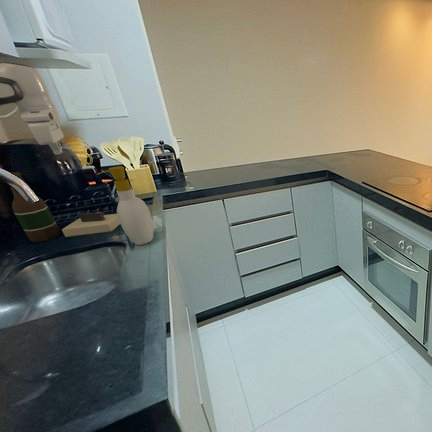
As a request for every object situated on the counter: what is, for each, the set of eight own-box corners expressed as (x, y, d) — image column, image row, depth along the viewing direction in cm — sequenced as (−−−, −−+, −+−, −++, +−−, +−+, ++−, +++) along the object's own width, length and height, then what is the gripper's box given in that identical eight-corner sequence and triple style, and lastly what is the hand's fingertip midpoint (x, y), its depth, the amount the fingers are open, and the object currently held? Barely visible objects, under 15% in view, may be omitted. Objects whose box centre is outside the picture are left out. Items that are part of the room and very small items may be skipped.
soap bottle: (128, 236, 106) (99, 165, 96) (159, 229, 111) (133, 161, 100) (123, 252, 95) (89, 174, 85) (157, 245, 100) (129, 169, 89)
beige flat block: (65, 237, 106) (61, 229, 105) (83, 224, 116) (79, 217, 115) (111, 231, 110) (108, 223, 109) (125, 219, 120) (122, 212, 119)
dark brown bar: (82, 222, 111) (78, 214, 109) (84, 220, 112) (81, 212, 111) (102, 220, 112) (99, 212, 110) (105, 219, 113) (102, 211, 112)
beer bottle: (28, 239, 105) (-9, 174, 96) (58, 230, 111) (26, 168, 102) (33, 244, 101) (-6, 177, 92) (64, 235, 107) (31, 171, 97)
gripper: (35, 113, 110) (52, 150, 115) (19, 117, 95) (40, 159, 100) (59, 112, 113) (74, 148, 119) (47, 115, 98) (65, 157, 104)
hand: (58, 153), depth 109 cm, fingers closed
